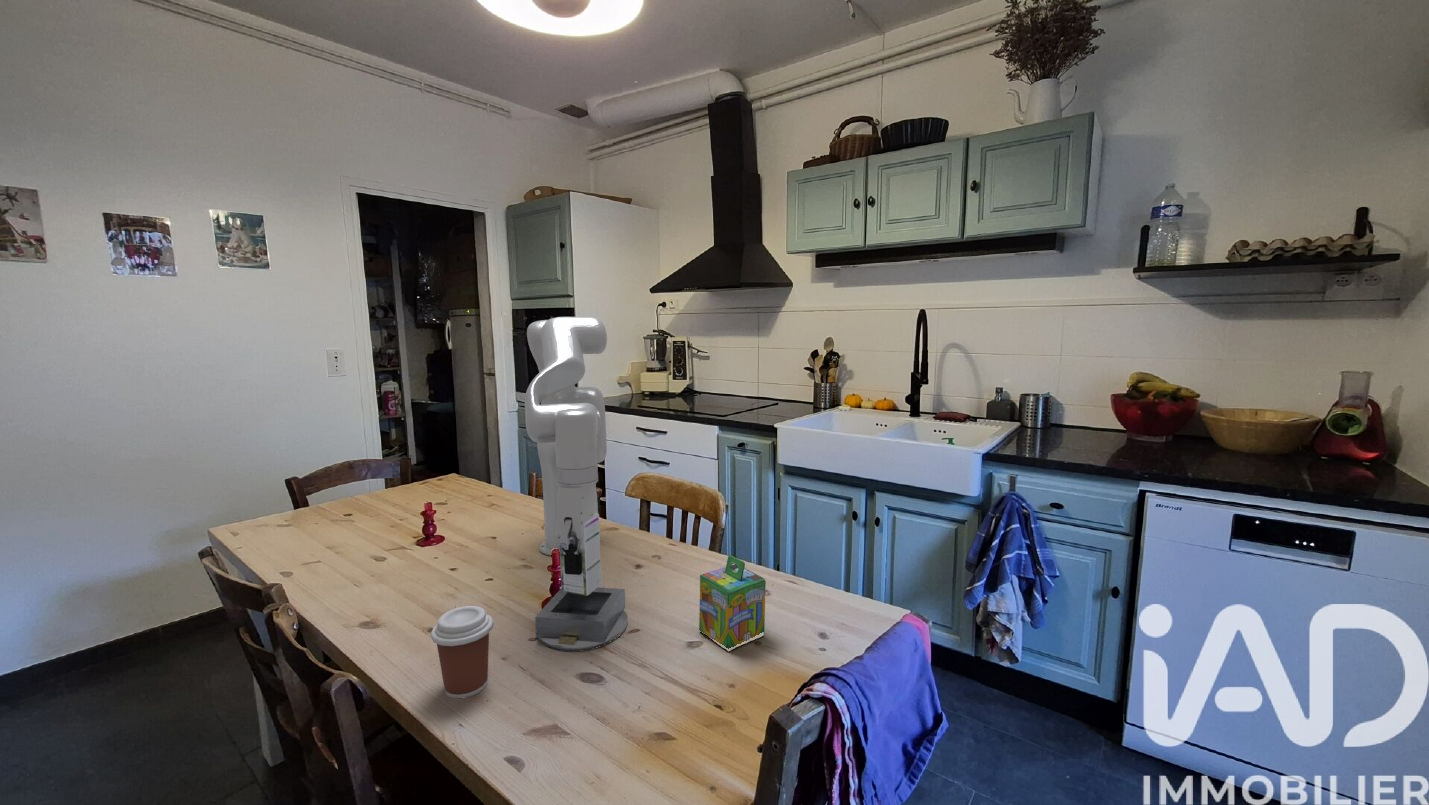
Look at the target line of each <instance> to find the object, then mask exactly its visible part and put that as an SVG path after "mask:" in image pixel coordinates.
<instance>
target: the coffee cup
mask: <svg viewBox="0 0 1429 805" xmlns="http://www.w3.org/2000/svg"><path fill="white" fill-rule="evenodd" d="M493 627H494V619H493V618H492V617H491V615H490V614H487V612H486V610H485V609H484V608H483V607H481V606H478V605H465V606H458V607H455V608H452V609H450V610H448V611H446V612H444V613H443V614H442V615H441V616H440V617H439V618H438V619H437V623H436V625H435V626H433V628H432V630H431V632H430V638H431V641H432V642H433V643H434V644H436V646H437V647H436V648H437V654H438V659H439V660H438V661H439V666H440V670H441V676H442V681H443V683H442V684H443V689H444V693H445V696H447V697H449V696H450V697H449V698H450V699H458V698H460V699H464V698H463V697H466V698H469V697H468V696H470V697H471V696H474V695H473V694H475V695H477V694H479V693H480V692H482V691H483V690H484V689H485V688H486V687H485V686H488V683H489V647H490V646H489V644H490V643H489V642H490V632H491V631H492V630H493ZM487 682H488V683H487ZM484 687H485V688H484ZM481 690H482V691H481ZM476 693H477V694H476Z"/></svg>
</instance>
